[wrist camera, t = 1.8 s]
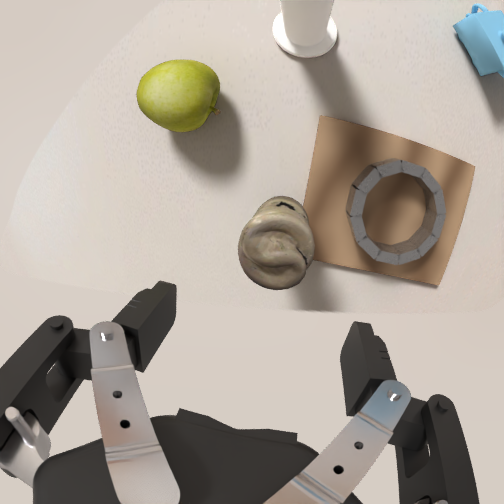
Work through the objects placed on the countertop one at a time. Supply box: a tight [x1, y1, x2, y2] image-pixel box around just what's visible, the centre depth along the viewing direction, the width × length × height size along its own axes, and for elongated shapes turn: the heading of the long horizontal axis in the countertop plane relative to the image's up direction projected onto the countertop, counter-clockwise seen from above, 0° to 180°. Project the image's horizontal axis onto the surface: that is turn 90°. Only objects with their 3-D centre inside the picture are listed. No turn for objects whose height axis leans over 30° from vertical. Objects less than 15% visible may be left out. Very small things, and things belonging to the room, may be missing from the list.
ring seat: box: [345, 158, 446, 265], centre depth 28 cm, size 11×11×3 cm
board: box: [303, 115, 475, 285], centre depth 30 cm, size 20×16×1 cm
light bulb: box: [238, 196, 315, 290], centre depth 25 cm, size 6×6×15 cm
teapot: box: [453, 4, 504, 78], centre depth 17 cm, size 12×6×8 cm, turn 30°
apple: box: [137, 60, 221, 132], centre depth 25 cm, size 8×9×8 cm
